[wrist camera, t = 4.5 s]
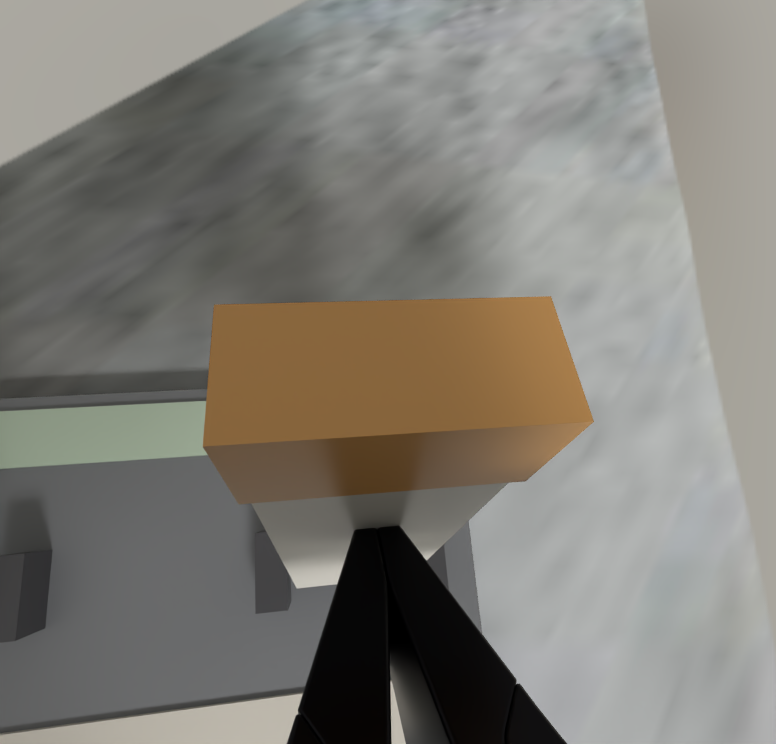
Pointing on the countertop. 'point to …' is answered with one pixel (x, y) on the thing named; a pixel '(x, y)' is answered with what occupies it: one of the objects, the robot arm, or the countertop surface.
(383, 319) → the lever
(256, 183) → the countertop surface
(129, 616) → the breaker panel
